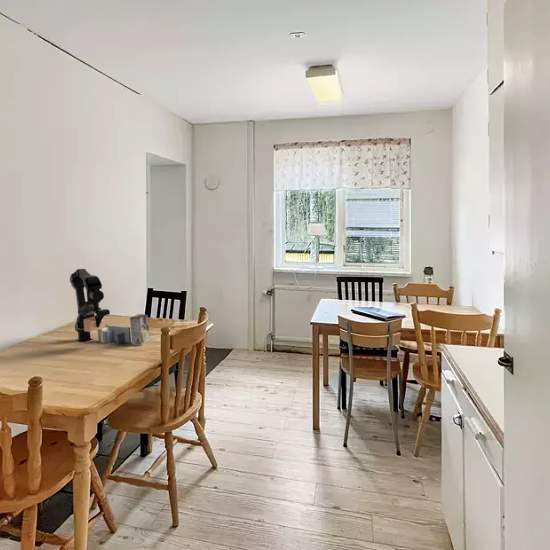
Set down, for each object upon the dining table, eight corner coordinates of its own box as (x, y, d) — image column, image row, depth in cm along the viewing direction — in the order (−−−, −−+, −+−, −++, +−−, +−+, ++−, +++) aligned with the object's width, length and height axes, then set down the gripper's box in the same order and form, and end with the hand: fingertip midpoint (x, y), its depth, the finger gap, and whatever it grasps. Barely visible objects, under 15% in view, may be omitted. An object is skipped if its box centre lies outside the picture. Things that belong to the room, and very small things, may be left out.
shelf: (98, 342, 241) (96, 327, 240) (106, 339, 247) (105, 324, 246) (122, 345, 233) (121, 330, 232) (131, 342, 239) (130, 327, 238)
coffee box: (139, 340, 243) (138, 314, 241) (149, 341, 242) (148, 314, 240) (131, 345, 234) (129, 317, 232) (141, 345, 233) (140, 317, 231)
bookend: (116, 344, 236) (115, 334, 235) (123, 342, 240) (122, 332, 239) (122, 345, 234) (122, 335, 233) (129, 343, 238) (128, 333, 237)
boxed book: (84, 331, 225) (83, 319, 224) (99, 327, 234) (98, 315, 233) (90, 331, 223) (89, 320, 222) (105, 327, 232) (104, 316, 231)
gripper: (68, 300, 223) (70, 329, 225) (92, 302, 215) (94, 331, 217) (85, 297, 233) (87, 324, 235) (109, 299, 225) (111, 327, 227)
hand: (94, 327), depth 228 cm, fingers closed on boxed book, 4 cm apart
